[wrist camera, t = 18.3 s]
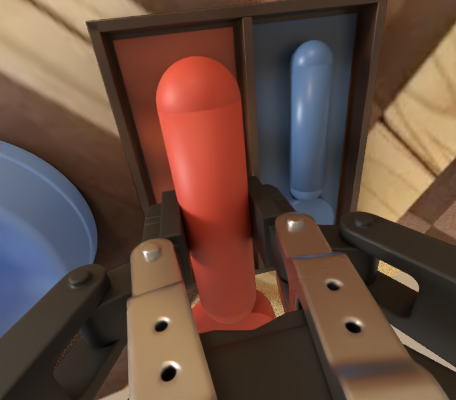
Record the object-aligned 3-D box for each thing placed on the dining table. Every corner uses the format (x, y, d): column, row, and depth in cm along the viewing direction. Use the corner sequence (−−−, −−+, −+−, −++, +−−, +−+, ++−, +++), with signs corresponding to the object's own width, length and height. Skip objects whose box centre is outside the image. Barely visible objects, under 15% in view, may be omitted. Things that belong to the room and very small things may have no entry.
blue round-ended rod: (266, 45, 18) (281, 43, 16) (338, 36, 19) (362, 33, 17) (272, 240, 27) (282, 259, 24) (322, 230, 27) (337, 248, 25)
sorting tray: (96, 25, 17) (84, 20, 15) (363, -3, 19) (389, -11, 17) (167, 273, 27) (167, 293, 25) (336, 238, 29) (350, 254, 27)
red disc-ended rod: (114, 65, 9) (94, 68, 7) (260, 47, 10) (289, 44, 7) (194, 354, 17) (198, 402, 15) (272, 335, 18) (288, 378, 16)
